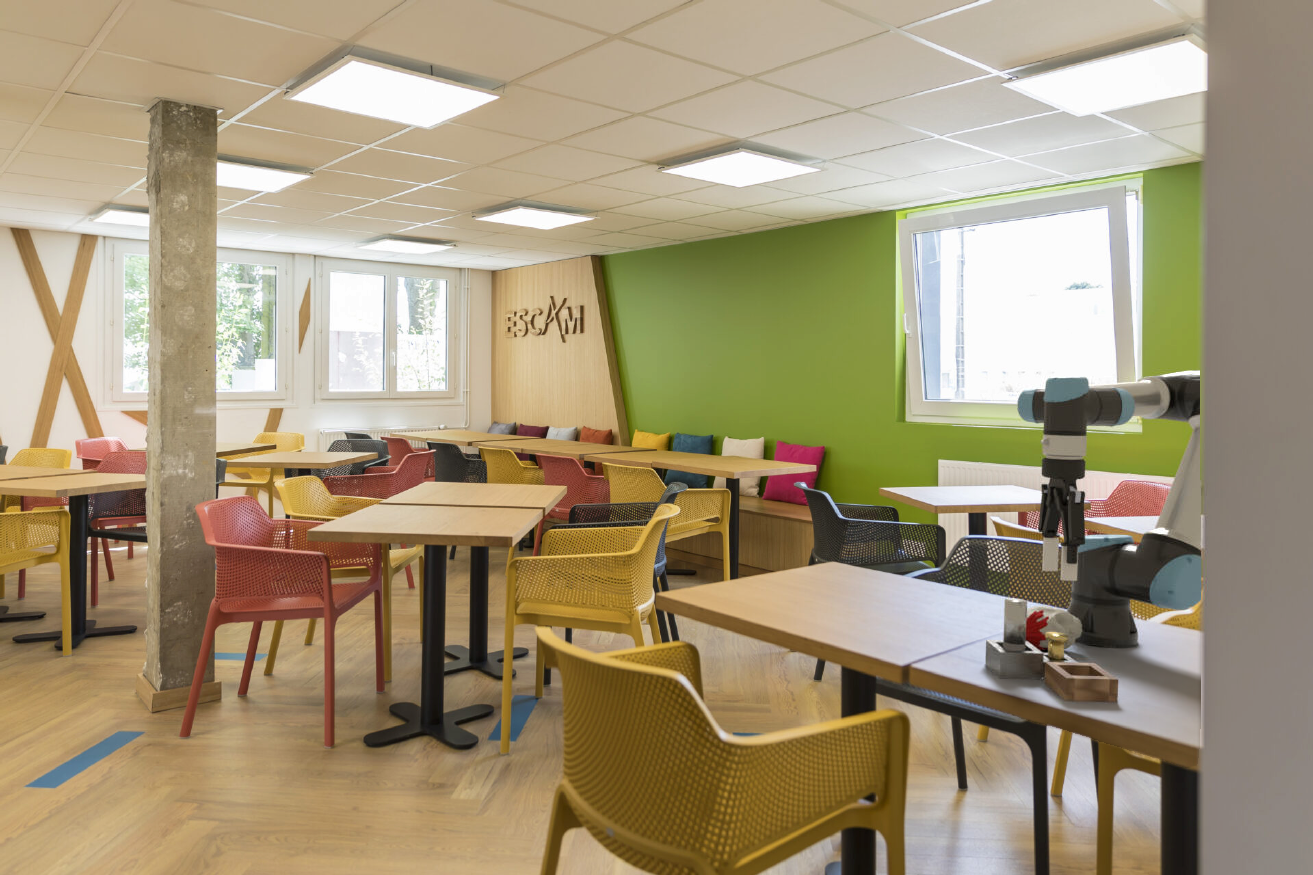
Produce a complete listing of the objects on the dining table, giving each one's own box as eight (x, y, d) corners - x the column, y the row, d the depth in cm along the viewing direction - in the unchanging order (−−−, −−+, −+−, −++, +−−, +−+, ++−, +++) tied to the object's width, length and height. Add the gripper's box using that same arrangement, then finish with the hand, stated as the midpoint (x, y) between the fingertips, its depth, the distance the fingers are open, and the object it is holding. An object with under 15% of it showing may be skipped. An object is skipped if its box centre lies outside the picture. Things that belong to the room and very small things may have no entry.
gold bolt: (1061, 667, 167) (1062, 632, 167) (1070, 673, 163) (1071, 637, 163) (1040, 666, 167) (1041, 631, 167) (1049, 673, 163) (1050, 637, 163)
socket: (1061, 666, 169) (1063, 641, 169) (1080, 680, 161) (1081, 654, 161) (985, 664, 170) (986, 639, 169) (999, 678, 162) (1000, 652, 161)
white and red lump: (1085, 648, 180) (1037, 666, 173) (1039, 634, 190) (992, 650, 183) (1084, 607, 178) (1035, 624, 172) (1038, 595, 188) (990, 610, 182)
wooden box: (1093, 684, 159) (1094, 663, 159) (1117, 701, 150) (1118, 679, 150) (1044, 682, 159) (1045, 661, 159) (1065, 700, 150) (1066, 677, 150)
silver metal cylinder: (1019, 668, 167) (1022, 598, 167) (1027, 675, 163) (1030, 603, 163) (999, 668, 167) (1001, 598, 167) (1006, 675, 163) (1009, 603, 163)
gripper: (1022, 453, 173) (1018, 563, 174) (1067, 461, 153) (1062, 587, 154) (1060, 453, 173) (1056, 564, 174) (1110, 462, 152) (1104, 588, 154)
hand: (1059, 575), depth 164 cm, fingers open, 8 cm apart
